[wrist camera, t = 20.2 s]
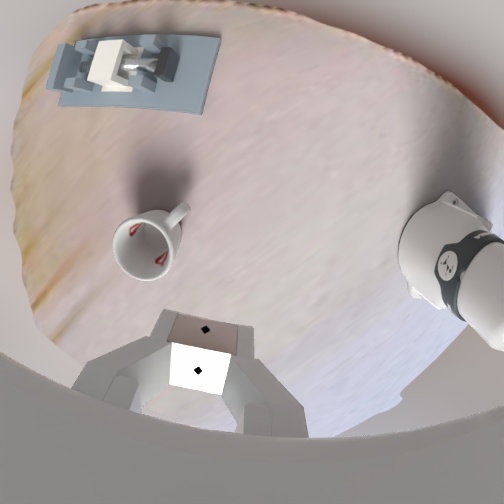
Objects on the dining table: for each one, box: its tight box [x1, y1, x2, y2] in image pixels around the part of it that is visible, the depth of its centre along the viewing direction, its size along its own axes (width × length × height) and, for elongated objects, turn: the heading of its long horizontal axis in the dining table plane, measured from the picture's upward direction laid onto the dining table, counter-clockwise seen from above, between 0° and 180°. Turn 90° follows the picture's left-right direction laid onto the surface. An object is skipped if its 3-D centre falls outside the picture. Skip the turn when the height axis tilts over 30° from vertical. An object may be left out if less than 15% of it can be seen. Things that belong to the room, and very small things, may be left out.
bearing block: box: [46, 34, 221, 115], centre depth 27 cm, size 23×11×6 cm, turn 78°
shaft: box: [79, 47, 180, 82], centre depth 26 cm, size 14×4×4 cm, turn 78°
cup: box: [113, 202, 190, 281], centre depth 34 cm, size 11×8×8 cm
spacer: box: [87, 39, 138, 87], centre depth 26 cm, size 4×6×5 cm, turn 167°
